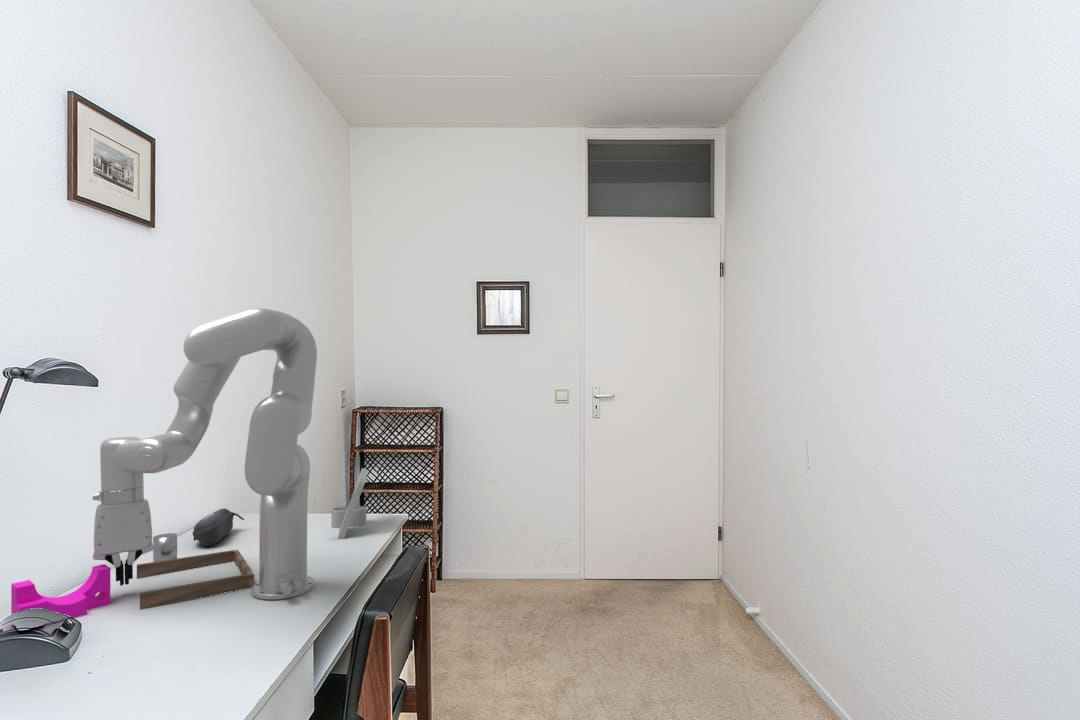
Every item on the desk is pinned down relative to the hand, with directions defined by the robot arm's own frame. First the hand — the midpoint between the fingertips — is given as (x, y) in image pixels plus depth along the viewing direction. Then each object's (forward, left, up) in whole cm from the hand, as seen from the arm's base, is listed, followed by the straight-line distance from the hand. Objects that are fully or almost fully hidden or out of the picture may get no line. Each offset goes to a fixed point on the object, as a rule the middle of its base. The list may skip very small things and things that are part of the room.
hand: (124, 583), depth 133 cm
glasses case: (+34, -22, -3) cm, 40 cm away
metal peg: (+18, -8, -3) cm, 20 cm away
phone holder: (+20, -53, -3) cm, 57 cm away
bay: (0, -13, -3) cm, 13 cm away
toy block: (-6, +10, -3) cm, 12 cm away
